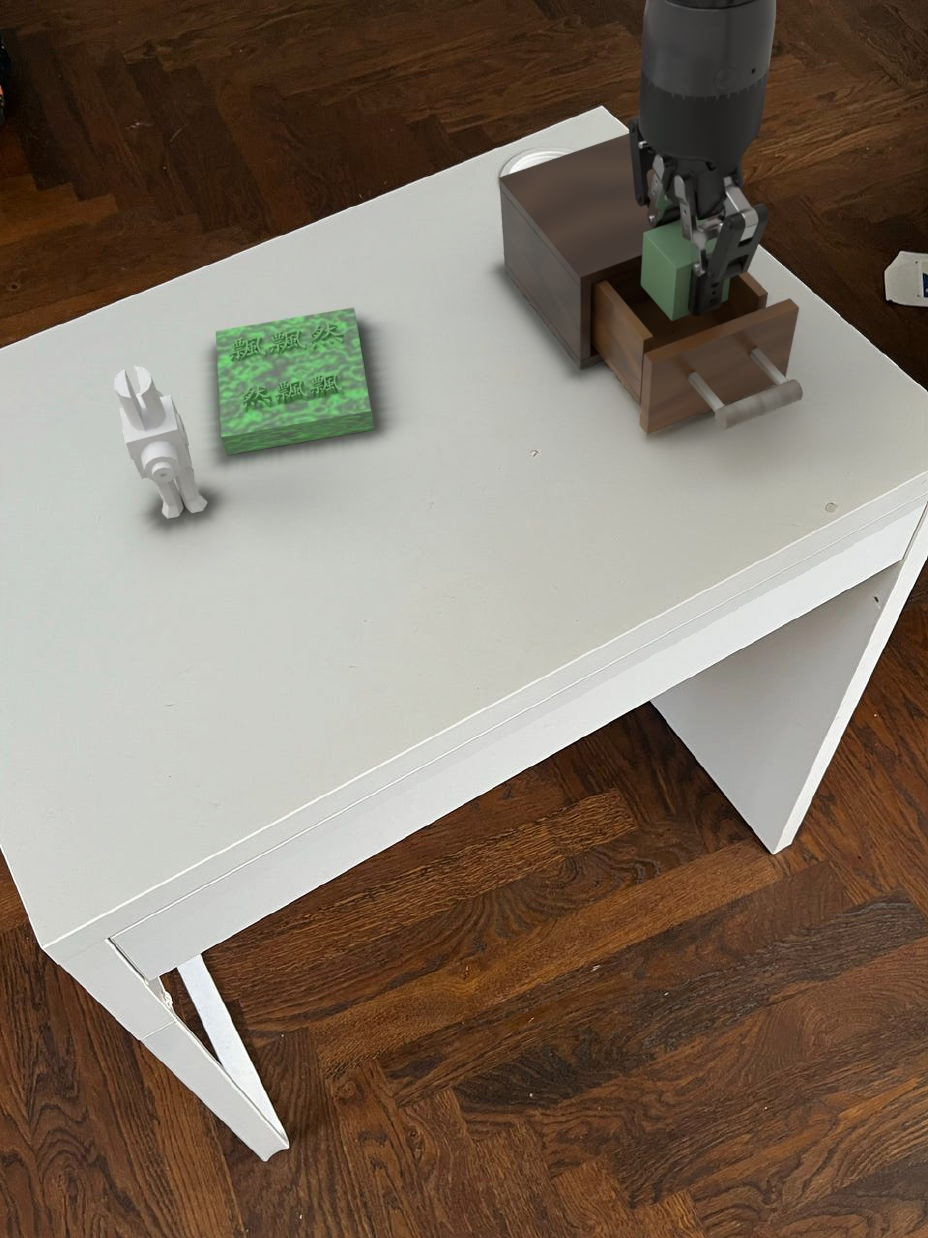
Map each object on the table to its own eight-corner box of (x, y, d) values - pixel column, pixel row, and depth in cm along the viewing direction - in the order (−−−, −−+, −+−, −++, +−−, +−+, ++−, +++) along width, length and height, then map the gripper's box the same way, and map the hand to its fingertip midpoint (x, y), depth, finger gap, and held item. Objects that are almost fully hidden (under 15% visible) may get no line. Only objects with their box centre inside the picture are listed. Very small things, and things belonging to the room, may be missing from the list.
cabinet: (724, 315, 91) (736, 220, 84) (580, 369, 89) (580, 277, 82) (639, 221, 99) (643, 127, 92) (504, 269, 97) (498, 177, 89)
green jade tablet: (227, 455, 87) (219, 432, 85) (221, 349, 94) (214, 326, 92) (374, 429, 87) (369, 405, 85) (357, 325, 94) (352, 302, 92)
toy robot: (200, 456, 87) (152, 333, 77) (217, 530, 83) (168, 409, 73) (149, 470, 87) (95, 348, 77) (163, 545, 82) (107, 425, 72)
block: (694, 264, 84) (700, 211, 80) (727, 300, 81) (734, 247, 77) (640, 285, 83) (643, 232, 79) (671, 321, 80) (676, 268, 77)
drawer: (827, 427, 82) (845, 353, 77) (685, 484, 80) (692, 413, 75) (697, 284, 92) (705, 210, 86) (567, 332, 90) (567, 260, 84)
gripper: (830, 94, 65) (785, 331, 79) (698, -14, 72) (679, 219, 86) (713, 134, 63) (689, 368, 77) (592, 20, 71) (590, 251, 85)
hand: (684, 288), depth 82 cm, fingers closed on block, 4 cm apart
